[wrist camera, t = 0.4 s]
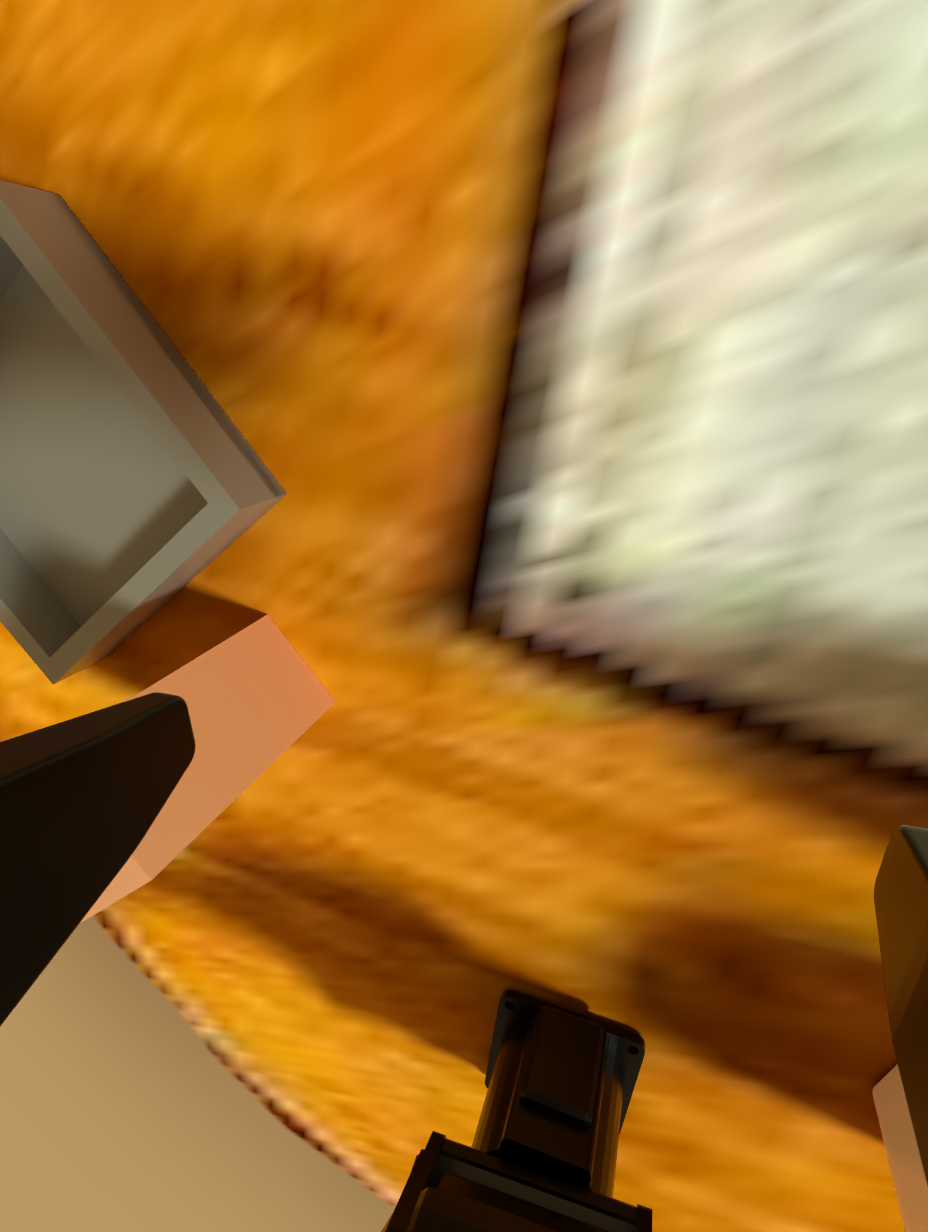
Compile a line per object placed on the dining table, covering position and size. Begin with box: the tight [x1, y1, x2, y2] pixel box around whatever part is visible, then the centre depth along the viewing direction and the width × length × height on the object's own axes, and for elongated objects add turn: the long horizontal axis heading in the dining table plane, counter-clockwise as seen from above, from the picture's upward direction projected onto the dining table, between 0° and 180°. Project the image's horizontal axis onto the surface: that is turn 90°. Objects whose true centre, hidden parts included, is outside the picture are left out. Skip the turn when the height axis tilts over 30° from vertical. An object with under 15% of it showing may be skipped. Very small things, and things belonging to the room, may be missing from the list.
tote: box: [0, 180, 287, 684], centre depth 27 cm, size 13×13×3 cm
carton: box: [80, 614, 336, 923], centre depth 25 cm, size 5×5×11 cm
